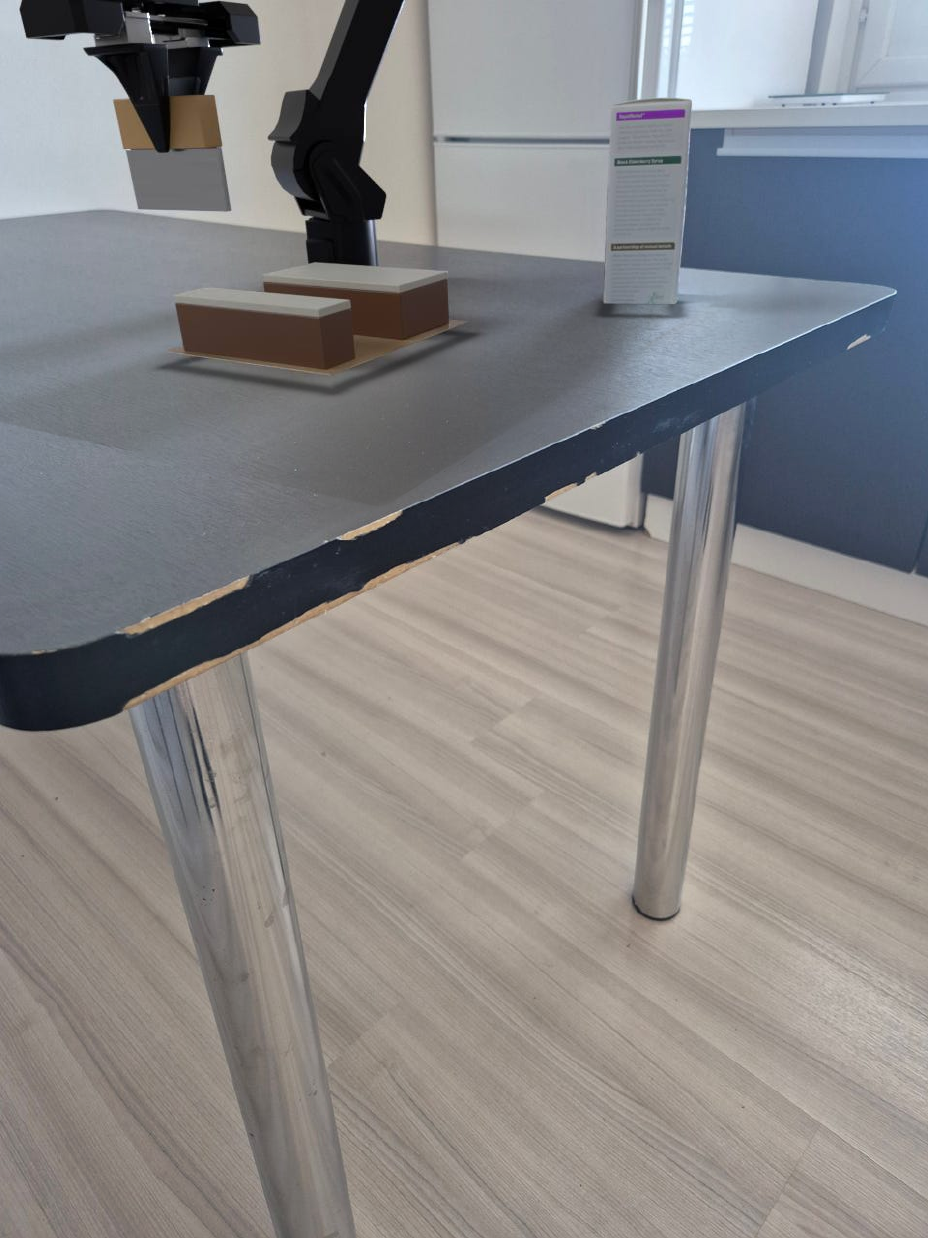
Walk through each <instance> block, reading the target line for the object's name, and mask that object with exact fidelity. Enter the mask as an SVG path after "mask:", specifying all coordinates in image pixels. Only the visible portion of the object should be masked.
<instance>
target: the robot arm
mask: <svg viewBox="0 0 928 1238" xmlns="http://www.w3.org/2000/svg"><path fill="white" fill-rule="evenodd" d="M405 2H406V0H344V3H343V5H342V9H341V11H340V13H339V17H338V19H337V22H336V24H335V27H334V30H333V32H332V33H333V34H332V35H331V37H330V42H329V44H328V47H327V50H326V52H325V55H324V57H323V61H322V63H321V66H320V69H319V71H318V73H317V77H316V78H315V80H314V82H313V83H312V84H311V85H310V87H309V88H308V89H307V88H306V89H298V90H289V91H285V93H284V94H283V98H282V102H281V106H280V112H279V117H278V121H277V123H276V124H275V127H274V129H273V130H272V131H271V132H270V133H269V134H268V136H267V140H268V141H272V142H274V143H273V145H272V149H271V154H270V166H271V168H272V171H273V173H274V176H275V179H276V181H277V182H278V184H279V185H280V187H281V188H282V189H283V190H284V191H285V192H287V193H288V194H289V195H291V196H293V199H294V201H295V203H296V205H297V207H298V210H299V212H300V214H301V215H302V216H303V217H309V218H308V219H306V220H304V224H305V233H306V240H305V250H306V257H307V264H310V263H315V262H316V263H331V264H346V265H361V266H377V267H380V265H379V251H378V239H377V238H378V237H377V236H378V235H377V224H376V220H377V221H378V220H382V218H383V216H384V215H383V214H384V211H385V210H384V209H385V205H386V201H387V192H386V191H384V189H383V188H382V187H381V186H380V185H379V184H378V183H377V182H376V181H375V180H374V179H373V178H372V177H371V176H370V175H369V174H368V172H366V170H364V169H363V168H362V167H361V161H362V156H363V151H364V147H365V142H366V124H367V123H366V117H367V116H366V115H367V103H368V99H369V96H370V93H371V91H372V88H373V85H374V83H375V80H376V78H377V76H378V73H379V70H380V68H381V65H382V62H383V60H384V57H385V54H386V53H387V49H388V47H389V45H390V42H391V38H392V36H393V34H394V31H395V28H396V26H397V23H398V20H399V18H400V15H401V13H402V10H403V7H404V5H405ZM19 14H20V18H21V22H22V26H23V30H24V34H25V38H26V39H28V40H42V41H64V40H65V39H66V36H71V35H78V34H91V35H92V37H93V41H94V46H86V47H83V48H82V49H83V51H84V52H85V54H86V55H87V56H88V57H94V58H96V59H97V60H98V61H100V62H101V64H103V65H104V66H105V67H106V68H107V69H108V70H110V71H111V72H112V73H113V75H114V76H115V77H116V78H117V80H118V81H119V83H120V85H121V87H122V88H123V90H124V92H125V93H126V95H127V97H128V99H130V101H131V102H132V104H133V106H134V108H135V110H136V112H137V114H138V116H139V118H140V120H141V122H142V124H143V126H144V128H145V130H146V132H147V134H148V136H149V138H150V140H151V142H152V144H153V145H154V147H155V149H156V151H157V152H158V153H168V152H169V151H170V131H171V127H170V102H169V96H186V95H206V92H207V88H208V85H209V83H210V79H211V76H212V73H213V70H214V67H215V64H216V61H217V58H218V57H222V56H224V49H225V48H238V47H249V46H261V45H262V39H261V30H260V22H259V17H258V15H257V14H256V12H255V11H254V10H253V9H252V8H251V6H250V5H249V3H241V2H233V1H226V0H212V1H205V2H203V1H202V2H199V0H21V2H20V6H19ZM153 38H154V39H153ZM154 42H155V43H154Z"/></svg>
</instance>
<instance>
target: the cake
mask: <svg viewBox="0 0 928 1238" xmlns="http://www.w3.org/2000/svg"><path fill="white" fill-rule="evenodd" d="M448 278H449V273H448V270H435V269H421V268H420V269H419V268H408V267H407V268H406V267H405V268H404V267H390V266H389V267H388V266H379V267H377V266H361V265H346V264H331V263H316V262H315V263H310V264H308V263H306V264H302V265H298V266H297V265H296V266H293V267H289V268H285V269H280V270H275V271H271V272H266V273H263V274H261V281H262V286H263V292H267V293H278V294H289V295H300V296H312V297H323V298H334V299H345V300H350V306H351V308H350V309H351V317H352V327H353V334H354V335H363V336H372V337H380V338H389V339H398V340H404V339H407V338H409V337H412V336H415V335H417V334H420V333H423V332H425V331H428V330H431V329H433V328H436V327H438V326H441V325H444V324H446V323H449V320H450V304H449V303H450V302H449V279H448Z"/></svg>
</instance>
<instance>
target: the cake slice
mask: <svg viewBox="0 0 928 1238" xmlns="http://www.w3.org/2000/svg"><path fill="white" fill-rule="evenodd" d="M172 297H173V300H174V306H175V311H176V316H177V321H178V326H179V332H180V337H181V342H182V346H183V347H184V350H187V351H194V352H202V353H209V354H216V355H223V356H231V357H238V358H245V359H252V360H260V361H267V362H274V363H281V364H289V365H296V366H303V367H310V368H318V369H325V370H326V369H328V368H331V367H334V366H336V365H339V364H342V363H344V362H347V361H349V360H352V359H355V349H354V338H353V327H352V317H351V309H350V308H351V306H350V300H345V299H334V298H323V297H312V296H300V295H289V294H278V293H267V292H264V291H256V290H244V289H243V290H242V289H231V288H223V287H210V286H209V287H208V286H206V287H202V288H196V289H192V290H188V291H184V292H179V293H176V294H173V296H172Z"/></svg>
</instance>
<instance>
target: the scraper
mask: <svg viewBox="0 0 928 1238" xmlns="http://www.w3.org/2000/svg"><path fill="white" fill-rule="evenodd" d="M112 102H113V106H114V112H115V116H116V121H117V126H118V130H119V136H120V140H121V144H122V148H123V149H122V150H125V154H126V158H127V163H128V168H129V172H130V177H131V181H132V186H133V191H134V195H135V201H136V205H137V210H146V211H147V210H149V211H151V210H153V211H187V212H189V211H190V212H231V211H232V205H231V199H230V193H229V187H228V180H227V179H228V178H227V173H226V167H225V161H224V155H223V148H222V147H223V140H222V135H221V134H222V133H221V128H220V122H219V121H220V120H219V115H218V108H217V103H216V96H215V95H214V94H205V95H186V96H169V102H170V127H171V131H170V151H169V152H168V153H158V152H157V151H156V149H155V147H154V145H153V144H152V142H151V140H150V138H149V136H148V134H147V132H146V130H145V128H144V126H143V124H142V122H141V120H140V118H139V116H138V114H137V112H136V110H135V108H134V106H133V104H132V102H131V101H130V99H129V98H114V99H113V100H112Z"/></svg>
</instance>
